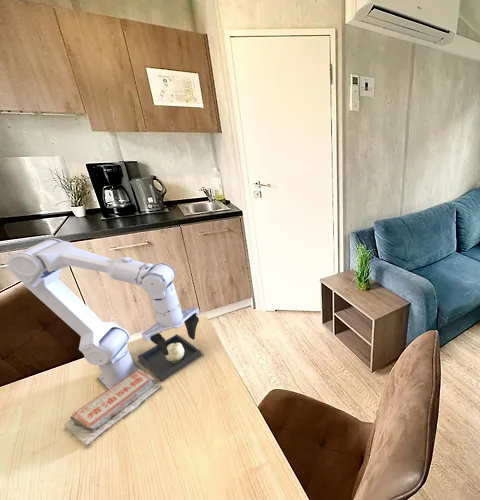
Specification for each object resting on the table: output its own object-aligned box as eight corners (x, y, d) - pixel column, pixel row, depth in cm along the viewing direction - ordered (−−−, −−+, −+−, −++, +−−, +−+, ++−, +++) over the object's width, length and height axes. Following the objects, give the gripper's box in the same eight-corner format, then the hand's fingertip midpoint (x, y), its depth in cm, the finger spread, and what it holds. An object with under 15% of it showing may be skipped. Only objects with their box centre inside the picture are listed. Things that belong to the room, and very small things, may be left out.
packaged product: (135, 364, 83) (157, 376, 80) (140, 376, 85) (161, 388, 82) (57, 415, 69) (79, 433, 65) (65, 428, 71) (86, 447, 67)
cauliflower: (164, 361, 90) (159, 347, 88) (180, 351, 94) (176, 338, 92) (173, 368, 87) (168, 354, 85) (189, 358, 91) (185, 344, 89)
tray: (139, 360, 91) (137, 356, 90) (178, 338, 100) (176, 334, 100) (161, 381, 84) (159, 376, 83) (201, 355, 93) (200, 350, 92)
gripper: (145, 326, 70) (159, 367, 75) (201, 299, 81) (210, 336, 86) (132, 316, 73) (147, 356, 79) (187, 291, 84) (197, 328, 90)
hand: (179, 345), depth 83 cm, fingers open, 7 cm apart
